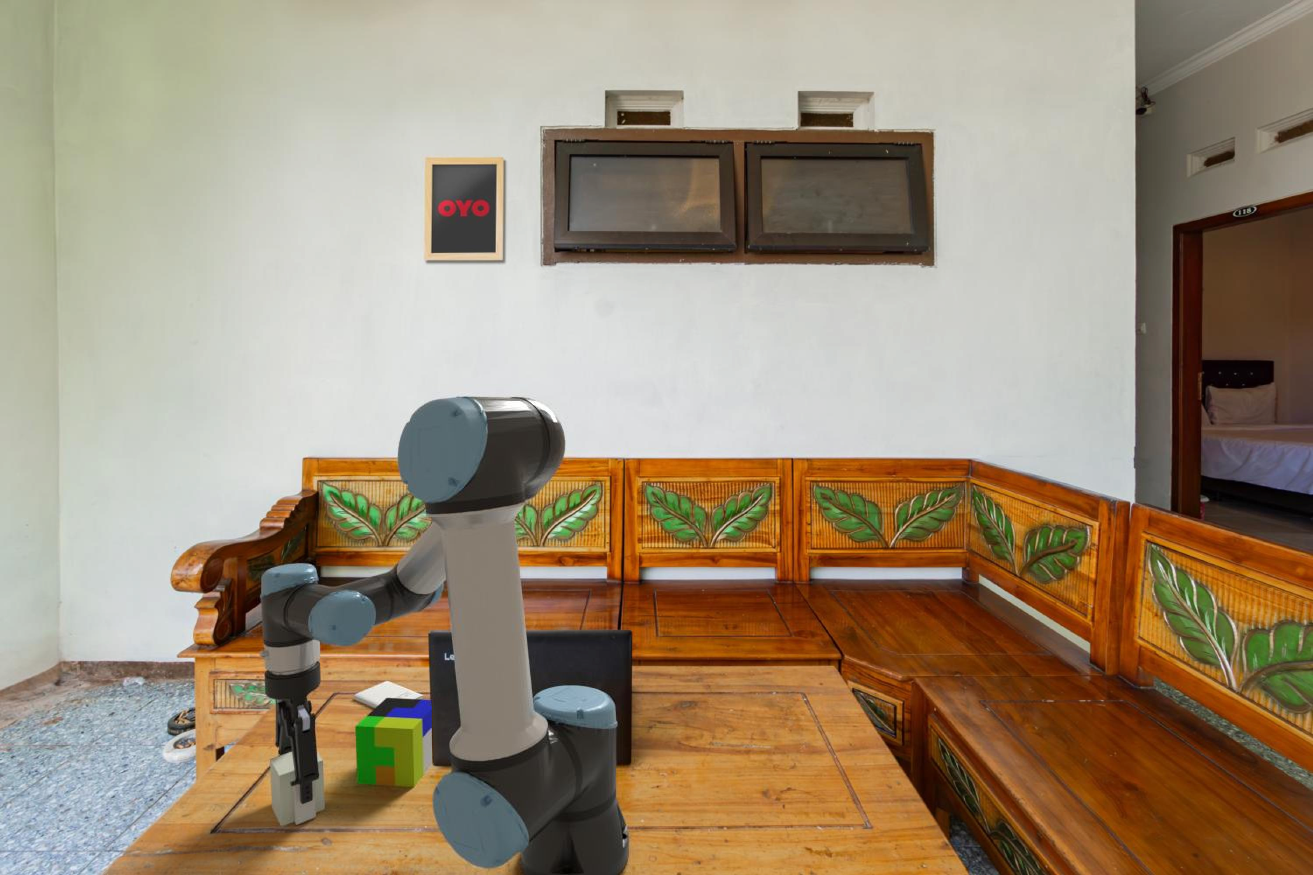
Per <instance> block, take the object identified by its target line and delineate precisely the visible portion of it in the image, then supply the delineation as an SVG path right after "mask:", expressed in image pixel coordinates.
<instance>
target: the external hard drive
mask: <svg viewBox="0 0 1313 875" xmlns="http://www.w3.org/2000/svg"><path fill="white" fill-rule="evenodd" d="M424 697H425V696H424V694H421V693H418V692H416V691H414V690H411V689H409V688H406V687H404V686H401V685H400V684H399V685H398V684H397V683H394V682H391V681H388V680H386V681H384V682H381V683H379V684H376V685H374V686H372V687H369V688H366V689H364V690H361V691H359V692H358V693H355V694H354V696H353V698H354V699H353V700H354V701H357V702H359V703H362V704H364V705H367V706H368V707H370V708H373V709H375V708H376V707H377V706H378V705H379V704H380V703H381V702H383V701H384V700H385V699H386V698H403V699H424ZM424 700H425V699H424Z"/></svg>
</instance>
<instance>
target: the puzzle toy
mask: <svg viewBox="0 0 1313 875" xmlns="http://www.w3.org/2000/svg"><path fill="white" fill-rule="evenodd" d="M431 700H432V699H403V698H386V699H385V700H384V701H383V702H381V703H380V704H379V705H378V706H377V707H376V708H373V709H372V710H371V711H370V712H369V713H368V714H367V715H366V716H365V717H364V718H362V720H360V721H359V722H358V723H357V724H356V725H355V726H354V728H355V755H356V756H355V757H356V783H357V784H361V785H373V786H374V785H376V786H391V787H394V786H395V787H407V788H408V787H409V788H415V787H416V785H417V784H418V783H419V782H420V781H421V780H422V779H423V777H424V775H425V774H426V773H427V772H428V770H429V769H430V768H431V766H432V765H433V764H432V706H431ZM429 767H430V768H429ZM426 771H427V772H426ZM418 781H419V782H418Z"/></svg>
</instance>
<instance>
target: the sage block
mask: <svg viewBox="0 0 1313 875" xmlns="http://www.w3.org/2000/svg"><path fill="white" fill-rule="evenodd" d="M317 759H318V771H319V779H317V780H315V804H316V813H318V812H321V811H324V810H325V809H326V808H325V807H326V806H325V781H324V779H325V776H324V759H323V758H322V756H321V755H320V754H319V752H318V751H317ZM269 767H270V773H269V774H270V791H271V792H270V793H271V794H270V796H271V809H272V810H273V812H274V815H275V817H276V818H277V821H278V823H279V824H280V827H284V826H287V825H290V824H291V823H295V810H294V786H292V787H291V784H290V782H292V781H295V779H296V778H295V771H294V763H293V755H292V752H289V753H286V754H283V755H277V756H274V757H272V758H270V759H269Z"/></svg>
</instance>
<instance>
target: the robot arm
mask: <svg viewBox="0 0 1313 875" xmlns="http://www.w3.org/2000/svg"><path fill="white" fill-rule="evenodd" d="M565 452H566V436H565V431H564V428H563V426H562V424H561V422H560V420H559V419H558V417H557V414H555V413H554V412H553V411H552V410H551V409H550V408H549V407H547V406H546V405H545V404H543V403H542V402H540V401H538V400H536V399H532V398H529V397H525V396H524V397H522V396H512V397H511V396H510V397H502V396H501V397H498V396H495V397H494V396H493V397H492V396H469V395H467V396H466V395H465V396H463V395H462V396H459V395H458V396H455V397H448V398H447V397H446V398H438V399H434V400H433V399H432V400H429V401H427V402H426V403H424V404H423V405H421V406H420V407H418V408H417V409H416V410H415V411H414V412H413V413H412V414H411V416H410V419H409V421H407V422H406V423H405V425H404V426H403V429H402V432H401V434H400V438H399V442H398V447H397V466H398V472H399V476H400V479H401V481H402V483H403V484H405V485H407V486H406V490H407V491H408V492H409V494H411V496H412V497H414V498H415V499H417V500H420V501H422V502H424V507H425V516H426V517H427V518H428V519H430V520H431V521H432V523H430V525H429V526H428V527H427V529H426V530H425V531H424V532H423V533H422V534H421V535H420V537H419V538H418V539H417V540H416V541H415V542H414V544H413V545H412V546H411V547H410V548H409V549H408V551H407V552H406V553H405V554H404V555H403V556H402V558H401V559H399V561H398V562H397V563H396V564H395V565H394V566H393V567H392V568H391V569H390V570H388V571H386V572H384V573H383V572H382V573H379V574H376V575H372V576H370V577H367V578H362V579H359V580H355V581H352V582H348V583H344V584H341V585H337V586H327V585H324V584H322V583H321V584H320V583H318V582H319V576H318V573H317V568H316V567H315V565H314V564H313V565H312V564H310V563H302V562H301V563H299V562H297V563H288V564H283V565H278V566H274V567H272V568H268V569H267V570H266V571H265V572H263V574H261V581H260V583H261V585H260V588H261V589H260V590H261V593H260V595H259V599H260V604H261V606H260V607H261V626H262V638H263V648H264V650H261V651H259V658H263V659H264V665H263V666H264V669H265V672H264V674H263V676H264V693H265V696H267V698H268V699H271V700H274V701H275V742H274V745H275V747H276V748H278V750H277V754H278V756H280V755H283V754H286V753H289V752H292V755H293V763H294V771H295V778H296V779H295V781H292V782H290V784H291V787H292V786H294V810H295V821H294V823H295V825H296V826H298V825H299V824H302V823H305V822H307V821H310V820H312V819H314V818H316V817H317V812H316V804H315V780H317V779H319V771H318V759H317V752H318V749H317V737H316V736H317V735H316V718H317V716H316V714H315V713H314V712H312V711H313V707H312V706H313V705H312V701H311V700H310V699H309V700H308V696H309V695H310V694H311V693H312V692H314V691H315V690H317V689H318V688H319V687H320V685H321V682H322V680H321V679H322V678H321V677H322V676H321V674H322V673H321V672H322V671H321V663H320V661H319V660H320V658H321V644H326V645H327V646H329V645H332V646H338V647H350V646H351V647H352V646H354V645H357V644H359V643H360V642H362V641H363V639H364V638H366V637H367V636H368V635H369V634H370V633H371V631H372V629H373V628H374V627H377V626H380V625H383V624H385V623H388V622H390V621H393V620H396V619H399V618H402V617H405V616H407V615H411V614H414V613H419V612H421V611H424V610H426V608H428V607H431V606H433V605H435V604H436V603H437V602H439V600H440V599H441V598H442V592H443V591H444V588H445V587H444V582H445V581H446V590H447V599H448V600H447V601H448V607H449V609H448V610H449V618H450V619H449V620H450V628H451V640H452V650H453V651H452V652H453V658H454V660H453V661H454V670H455V677H456V689H457V697H458V698H457V700H458V709H459V718H460V727H459V728H458V729H457V730H456V732H455V733H454V734H453V736H451V739H450V741H449V754H450V764H451V765H450V766H451V771H450V772H449V773H446V774H443V776H442V777H441V778H440V780H439V781H438V783H437V785H436V786H435V788H434V789H433V793H432V809H433V810H432V811H433V815H434V819H435V822H436V825H437V827H438V828H439V831H440V833H441V834H442V837H443V838H444V840H445V841H446V842H447V844H449V846H450V847H451V848H452V849H453V851H454V852H455V853H456V854H457V855H458V856H459V857H461V859H463V860H465V861H466V862H468V863H469V864H470V865H473V866H474V867H478V868H482V869H496V868H499V867H501V866H503V865H505V864H506V863H508V862H509V861H510V860H512V859H513V858H514V857H515V856H516V855H517V854H520V863H521V870H522V871H523V874H524V875H619V874H620V873H622V871H623V870H624V868H625V866H626V865H627V863H628V861H629V857H630V836H629V835H630V834H629V829H628V826H627V823H626V819H625V818H624V815H623V812H622V809H621V806H620V804H619V800H618V798H617V797H618V796H617V727H618V721H617V715H616V704H615V702H614V701H613V698H611V696H610V695H608V694H607V693H606V692H604V691H601V690H599V689H597V688H593V687H590V686H584V685H558V686H552V687H549V688H546V689H543V690H541V691H539V692H537V693H536V694H535V695H534V696H533V689H532V679H531V671H530V670H531V669H530V659H529V649H528V639H527V628H526V622H525V621H526V619H525V609H524V600H523V590H522V580H521V568H520V560H519V559H520V558H519V550H518V540H517V529H516V522H515V521H516V520H515V519H516V517H517V515H518V514H519V513H520V511H521V510H522V509H523V508H524V506H526V502H528V501H530V500H532V499H533V498H534V497H536V496H537V495H538V493H540V492H541V490H542V489H543V488H544V487H546V485H547V484H548V483H549V482H550V481H551V479H552V478H554V476H555V475H556V473H557V472H558V470H559V468H560V466H561V464H562V463H563V459H564V456H565V454H566V453H565ZM320 643H321V644H320Z"/></svg>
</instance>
